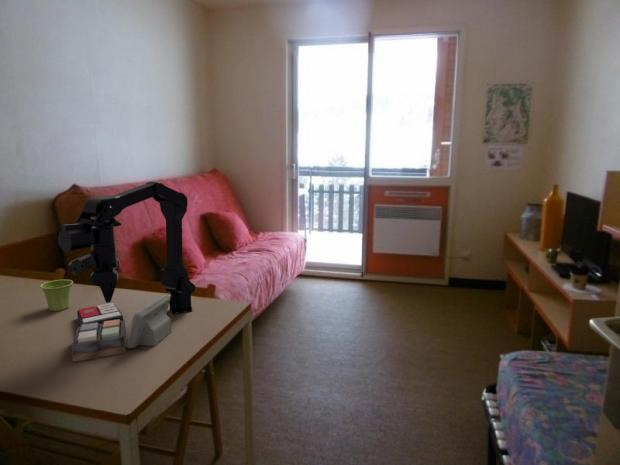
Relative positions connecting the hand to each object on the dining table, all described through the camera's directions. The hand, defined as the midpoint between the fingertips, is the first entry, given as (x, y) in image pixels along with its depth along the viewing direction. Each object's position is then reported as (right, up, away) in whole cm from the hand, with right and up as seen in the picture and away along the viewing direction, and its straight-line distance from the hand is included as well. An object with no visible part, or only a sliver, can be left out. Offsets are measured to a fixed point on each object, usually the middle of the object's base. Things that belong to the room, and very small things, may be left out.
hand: (108, 299), depth 112 cm
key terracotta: (0, -9, +2) cm, 9 cm away
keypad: (-1, -13, -1) cm, 13 cm away
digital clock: (+10, -12, +4) cm, 16 cm away
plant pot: (-30, -7, +26) cm, 40 cm away
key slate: (-5, -9, 0) cm, 11 cm away
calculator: (-10, -10, +14) cm, 20 cm away
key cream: (-3, -10, -5) cm, 12 cm away
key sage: (+2, -10, -3) cm, 11 cm away
